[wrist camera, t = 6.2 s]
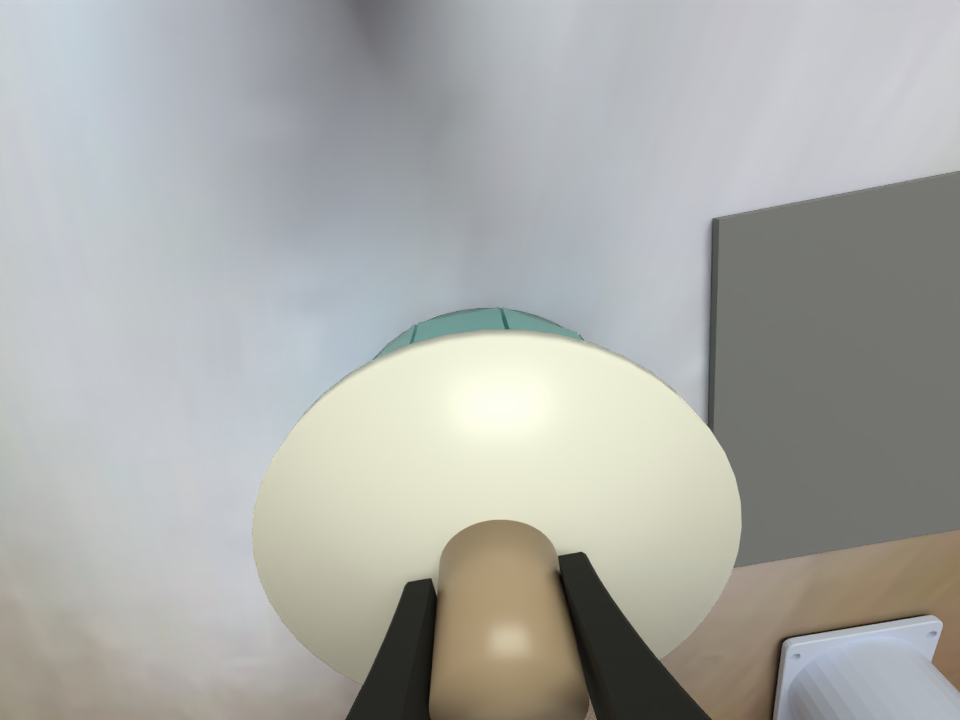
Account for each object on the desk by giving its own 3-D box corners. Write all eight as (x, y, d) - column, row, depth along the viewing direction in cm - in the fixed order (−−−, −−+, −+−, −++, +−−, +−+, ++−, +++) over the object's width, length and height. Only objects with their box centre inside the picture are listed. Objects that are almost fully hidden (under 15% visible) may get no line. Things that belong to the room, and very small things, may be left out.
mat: (1049, 506, 21) (1059, 512, 20) (705, 564, 21) (709, 571, 21) (1203, 124, 15) (1222, 122, 14) (713, 218, 15) (719, 219, 15)
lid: (721, 655, 15) (810, 827, 11) (347, 709, 16) (306, 890, 12) (732, 279, 10) (904, 353, 6) (182, 384, 11) (15, 510, 7)
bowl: (628, 521, 20) (673, 612, 16) (387, 563, 20) (369, 663, 16) (612, 281, 16) (667, 321, 12) (307, 339, 16) (254, 398, 12)
